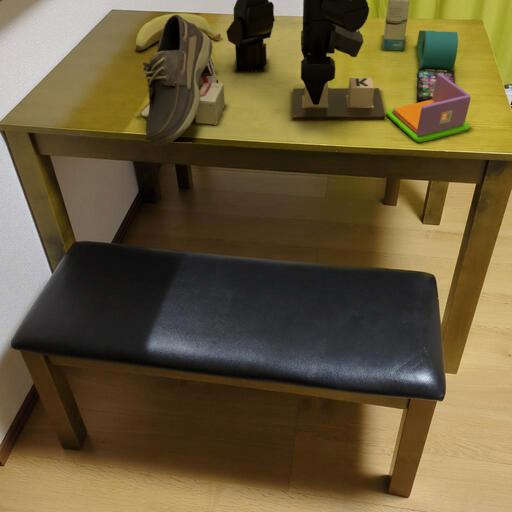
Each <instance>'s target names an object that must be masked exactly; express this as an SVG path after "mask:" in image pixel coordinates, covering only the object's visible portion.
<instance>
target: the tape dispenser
mask: <svg viewBox="0 0 512 512" xmlns="http://www.w3.org/2000/svg"><path fill="white" fill-rule="evenodd" d="M458 46H459V34H458V32H457V31H436V30H418V35H417V42H416V52H417V59H418V64H419V69H420V68H433V69H448V70H453V69H454V67H455V64H456V61H457V54H458Z"/></svg>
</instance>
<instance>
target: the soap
mask: <svg viewBox="0 0 512 512" xmlns="http://www.w3.org/2000/svg"><path fill="white" fill-rule="evenodd" d="M149 106H150V105H149V104H148V105H146V107H145V108H143V109H142V110H141V116H143V117H146V118H148V115H149Z"/></svg>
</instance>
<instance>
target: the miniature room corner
mask: <svg viewBox="0 0 512 512" xmlns="http://www.w3.org/2000/svg"><path fill="white" fill-rule="evenodd" d="M471 98H472V97H471V94H470V93H468V92H467V91H465V90H464V89H463V88H461V87H460V86H458V85H457V84H456V83H455V84H454V83H453V82H452V81H450V80H449V79H447V78H446V77H445V76H443V75H441V74H440V75H437V78H436V83H435V87H434V92H433V98H432V100H427V101H423V102H415V103H409V104H407V105H403V106H398V107H395V108H391V109H388V110H387V111H386V116H387V117H388V118H389V119H390V120H391V121H392V122H393V123H395V125H397V126H398V127H399V128H400V129H401V130H402V131H403V132H404V133H405V134H407V135H408V136H409V137H410V138H411V139H412V140H414V141H415V142H417V143H424V142H428V141H432V140H436V139H441V138H444V137H449V136H453V135H456V134H459V133H463V132H466V131H468V130H469V129H470V124H469V123H468V122H466V118H467V115H468V113H469V112H468V111H469V107H470V103H471Z"/></svg>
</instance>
